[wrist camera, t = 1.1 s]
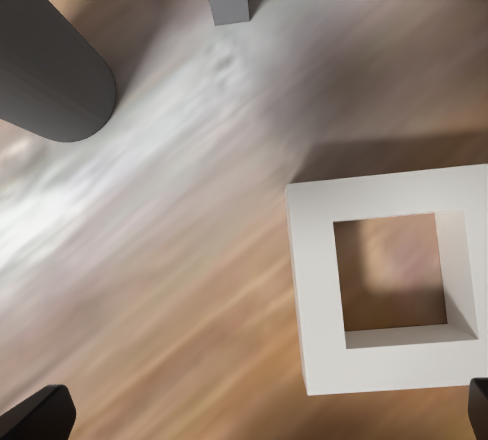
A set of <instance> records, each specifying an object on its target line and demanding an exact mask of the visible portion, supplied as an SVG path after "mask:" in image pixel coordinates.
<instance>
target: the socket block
mask: <svg viewBox="0 0 488 440" xmlns="http://www.w3.org/2000/svg"><path fill="white" fill-rule="evenodd" d="M209 3H210V7H211V11H212V15H213V19H214V23H215V26H216V25H224V24H231V23H239V22H246V21H250V20H249V9H248V0H209ZM284 195H285V205H286V216H287V226H288V236H289V246H290V256H291V266H292V276H293V286H294V296H295V306H296V316H297V326H298V336H299V346H300V356H301V366H302V374H303V378H304V382H305V386H306V391H307V395H308V396H309V395H324V394H339V393H355V392H370V391H385V390H400V389H416V388H431V387H446V386H461V385H470V381H471V379H472V378H477V377H488V164H478V165H468V166H458V167H449V168H439V169H429V170H420V171H410V172H400V173H390V174H381V175H371V176H361V177H351V178H342V179H332V180H322V181H312V182H303V183H293V184H286V187H285V190H284ZM428 213H435V221H436V229H437V238H438V246H439V255H440V263H441V272H442V280H443V288H444V297H445V305H446V314H447V322H448V324H439V325H426V326H413V327H400V328H387V329H374V330H361V331H347V332H344V323H343V313H342V304H341V294H340V285H339V275H338V266H337V256H336V247H335V237H334V228H333V223H334V222H344V221H355V220H365V219H376V218H386V217H397V216H407V215H418V214H428Z"/></svg>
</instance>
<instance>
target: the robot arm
mask: <svg viewBox="0 0 488 440" xmlns="http://www.w3.org/2000/svg"><path fill="white" fill-rule="evenodd" d="M468 415H469V419H470V422H471V425H472V428H473V431H474V433H475V436H476V439H477V440H488V377H477V378H472V379H471V381H470V385H469V399H468ZM75 419H76V409H75V406H74V403H73V401H72V398H71V395H70V393H69V390H68V388H67V387H66V386H65V385H62V384H61V385H48V386H46V387H44V388H42V389H41V390H39V391H38V392H36V393H35V394H33V395H32V396H30V397H29V398H27V399H26V400H24V401H22V402H21V403H19V404H18V405H16V406H15V407H13V408H12V409H10V410H9V411H7V412H6V413H4V414H3V415H1V416H0V440H68V438H69V435H70V433H71V430H72V428H73V425H74V423H75Z"/></svg>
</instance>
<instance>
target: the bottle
mask: <svg viewBox="0 0 488 440" xmlns="http://www.w3.org/2000/svg"><path fill="white" fill-rule="evenodd" d="M115 99H116V85H115V80H114V76H113V74H112V72H111V70H110V68H109V66H108V65H107V63H106V62H105V61H104V60H103V59H102V57H101V56H100V55H99V54H98V53H97V52H96V51H95V50H94V49H93V47H92V46H91V45H90V44H89V43H88V42H87V41H86V40H85V39H84V38H83V37H82V35H81V34H80V33H79V32H78V31H77V30H76V29H75V28H74V27H73V26H72V25H71V24H70V23H69V22H68V20H67V19H66V18H65V17H64V16H63V15H62V14H61V13H60V12H59V11H58V10H57V9H56V8H55V7H54V6H53V5H52V4H51V3H50V2H49V0H0V119H2V120H5V121H7V122H9V123H12V124H14V125H16V126H19V127H21V128H23V129H26V130H28V131H30V132H33V133H35V134H37V135H40V136H42V137H45V138H47V139H50V140H53V141H58V142H75V141H80V140H83V139H86V138H88V137H90V136H91V135H93V134H95V133H96V132H97V131H98V130H100V129H101V128H102V127H103V125H104V124H105V123H106V122H107V120H108V119H109V117H110V115H111V113H112V111H113V107H114V104H115Z"/></svg>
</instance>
